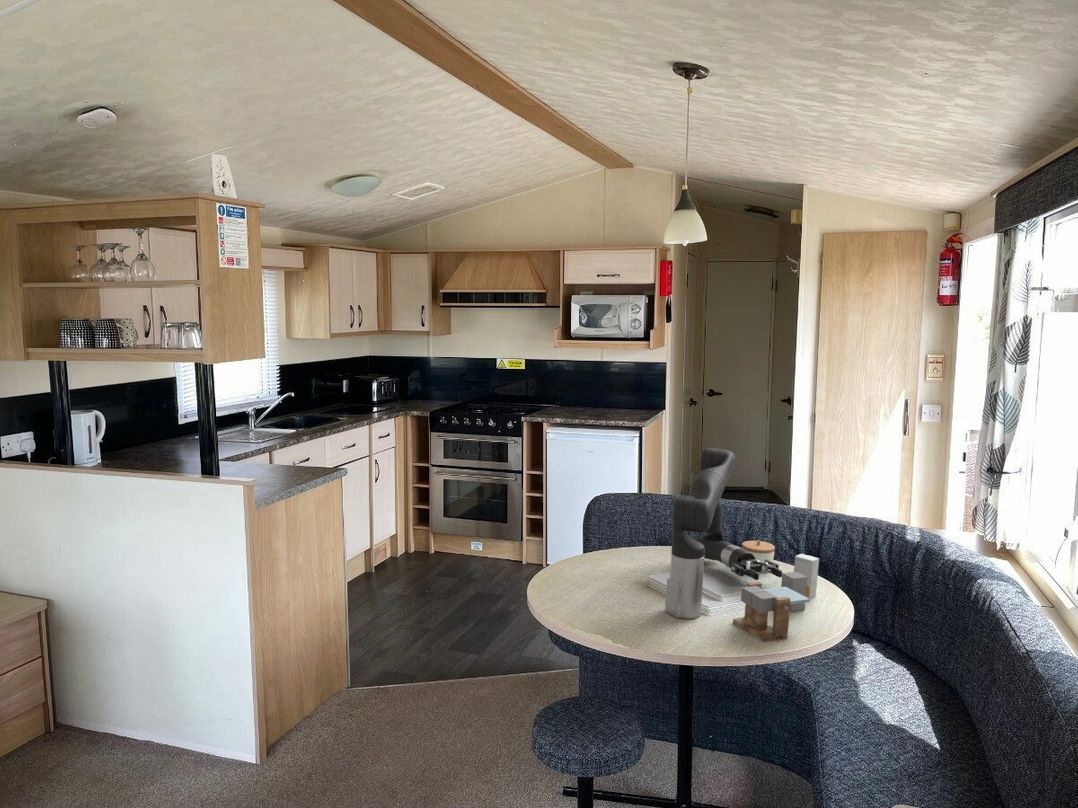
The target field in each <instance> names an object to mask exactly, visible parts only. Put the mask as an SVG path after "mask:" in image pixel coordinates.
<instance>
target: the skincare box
mask: <svg viewBox="0 0 1078 808" xmlns="http://www.w3.org/2000/svg"><path fill="white" fill-rule="evenodd" d="M819 564H820V558H819V557H815V556H813V555H808V554H807V555H806V554H805V553H799V554H797V555H795V556H794V566H793V567H794V568H793V572H798V573H800V574H802V575H804V576H806V577H807V589H806V597H807V598H809V599H810V600H811V598H813V597H816V595H817V586H818V574H819V566H820V565H819Z"/></svg>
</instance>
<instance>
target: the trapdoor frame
mask: <svg viewBox="0 0 1078 808" xmlns="http://www.w3.org/2000/svg"><path fill="white" fill-rule="evenodd" d="M750 586H758V587H760V588H761V589H763V582H760V581H756V582H747V583H746V587H750ZM744 604H745V603H744ZM772 616H773V617H772V627H771V626H770V625H768V619H769V612H764V613H761V612H759V611H757V610H756V609H754V608H752V607H750V606H749V605H747V604H745V605H744V617H736V618H732V623H733V624H734V625H736V627H739V628H740V629H742V630H743V631H745V632H747V634H749V635H751V636H752V637H754V638H756V639H757V640H759V641H760V642H762V643H765V642H766V643H767V642H772V641H773V642H774V641H780V640H786V639H787V640H788V636H789V635H788V634H789V623H790V622H789V621H790V598H788V597H782V598H775V600H774V611H773V614H772Z"/></svg>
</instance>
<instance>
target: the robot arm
mask: <svg viewBox="0 0 1078 808" xmlns="http://www.w3.org/2000/svg"><path fill="white" fill-rule="evenodd" d="M736 460H737V459H736V455H735V454H734V452H732V451H730V450H728V449H721V448H715V447H704V448H703V450H702V451H701V455H700V458H699V473H698V474H697V475H696V476H695V478H694V480H693V482H692V484H691V488H690V492H691V496H692V497H691V498H690V497H683V496H679V497H677V498H675V500H674V502H673V505H672V512H671V514H672V516H671V523H672V524H671V526H672V527H671V531H672V532H671V551H670V552H671V553H670V554H671V555H670V567H669V568H670V570H669V572H670V573H669V577H668V578H667V579H666V586H665V587H666V588H665V589H666V591H665V603H664V604H665V608H664V611H665V612H667V614H670V615H671V616H672V617H674V618H675V619H680V618H681V619H688V620H689V619H697V618H699V617H700V616H701V615H702V601H703V584H704V570H705V569H704V568H705V567H704V566H705V559H707V560H711V561H717V562H719V563H721V564H723V565H725V566H726V567H727V568H729V569H730V571H731V573H734V574H735V575H737V576H739V577H741V578H742V577H746V578H751V579H753V580H755V581H758V580H759V579H760V574H764V575H766V574H770V575H771V574H772V575H773V576H775V577H777V578H782V573H783V570H782V569H780V568H779V567H780V566H779V564H778V563H776V562H773V561H772V562H771V561H769V560H767V559H766V560H765V561H764V562H762V561H759V560H756V558H755V557H754V555H753V554H752V553H750V552H748V551H746V550H744V549H742V547H740V546H738V545H735V544H732V543H730V542H727V541H725V537H724V533H723V532H724V531H723V526H722V520H723V506H722V502H721V500H720V499H721V497H722V496H723V493H724V491H725V488H726V485H727V483H728V482H729V480H730V479H731V477H732V476H733V474H734V472H735V469H736V463H737V461H736ZM687 532H691V533H705V534H703V535H699V536H697V537H696V538H692V537H691V536H690V535H689V534H688V533H687ZM706 533H707V534H706ZM763 566H764V568H765V569H764V570H762V567H763Z"/></svg>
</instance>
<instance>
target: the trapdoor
mask: <svg viewBox="0 0 1078 808" xmlns="http://www.w3.org/2000/svg"><path fill="white" fill-rule="evenodd" d="M782 597H788V598H790V604H798V603H805V604H806V603H810V601H811V598H810V599H809V598H807V597H805V596H803V595H801V594H799V593H797V592H795V591H793V590H791V589H789V588H787V587H781V586H779V587H771V588H762V589H761V588H760V587H758V586H750V587H747V586H744V587H742V586H741V594H740V602H742V603H744V604H747V605H749V606H750V607H752V608H754V609H756V610H757V611H759V612H761V613H764V612H768V613H770V612H774V600H775V598H782Z"/></svg>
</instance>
